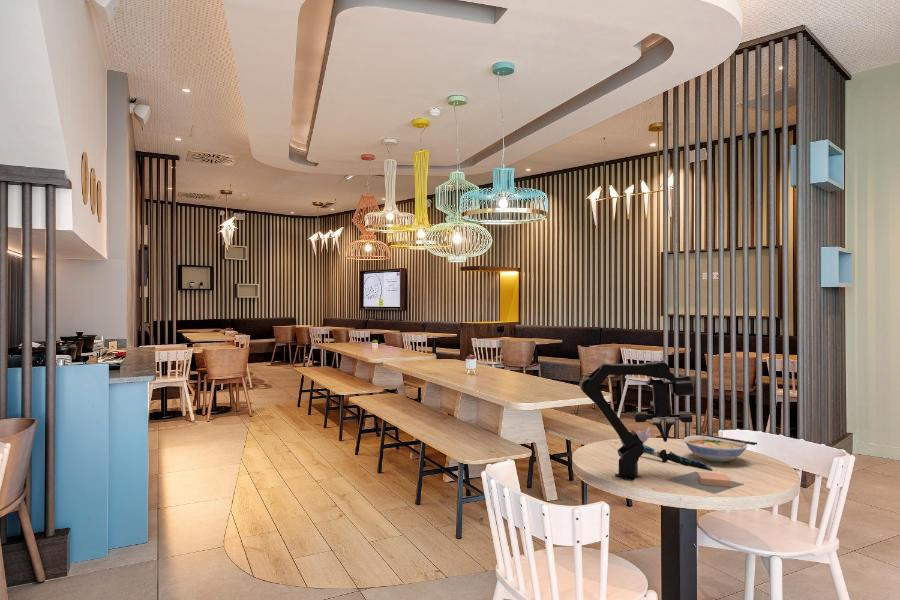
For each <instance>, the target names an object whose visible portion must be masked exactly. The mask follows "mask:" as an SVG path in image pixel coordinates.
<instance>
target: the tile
mask: <svg viewBox="0 0 900 600" xmlns="http://www.w3.org/2000/svg"><path fill="white" fill-rule="evenodd" d="M697 472H698V479H699V481H700V483H701V484H702V485H708V486H720V487H731V481H732V480H731V479H730V478H729V476H728V475H727V474H726V473H718V472H705V471H697Z"/></svg>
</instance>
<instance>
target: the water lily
mask: <svg viewBox="0 0 900 600" xmlns="http://www.w3.org/2000/svg"><path fill="white" fill-rule="evenodd" d="M650 431H651V426H649V427H648V428H647V430H646V428H645V429H644V430H643V431H642V430H638V431H637V435H638V437H639V439H640V440H642V441H643V442H644V443H642V444H643V445H645V443H646V442H647V441H648V440H649V438H650V436H651V435H652V432H650Z"/></svg>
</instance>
